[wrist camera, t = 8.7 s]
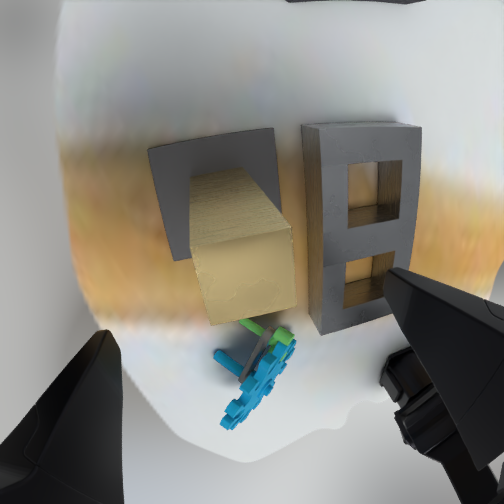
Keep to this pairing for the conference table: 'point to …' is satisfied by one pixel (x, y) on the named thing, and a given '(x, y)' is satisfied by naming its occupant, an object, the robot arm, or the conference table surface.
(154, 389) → the conference table surface
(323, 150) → the grey cinder block
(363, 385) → the conference table surface
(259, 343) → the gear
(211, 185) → the brass peg
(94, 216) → the conference table surface
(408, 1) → the calculator
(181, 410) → the conference table surface
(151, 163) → the rubber pad
